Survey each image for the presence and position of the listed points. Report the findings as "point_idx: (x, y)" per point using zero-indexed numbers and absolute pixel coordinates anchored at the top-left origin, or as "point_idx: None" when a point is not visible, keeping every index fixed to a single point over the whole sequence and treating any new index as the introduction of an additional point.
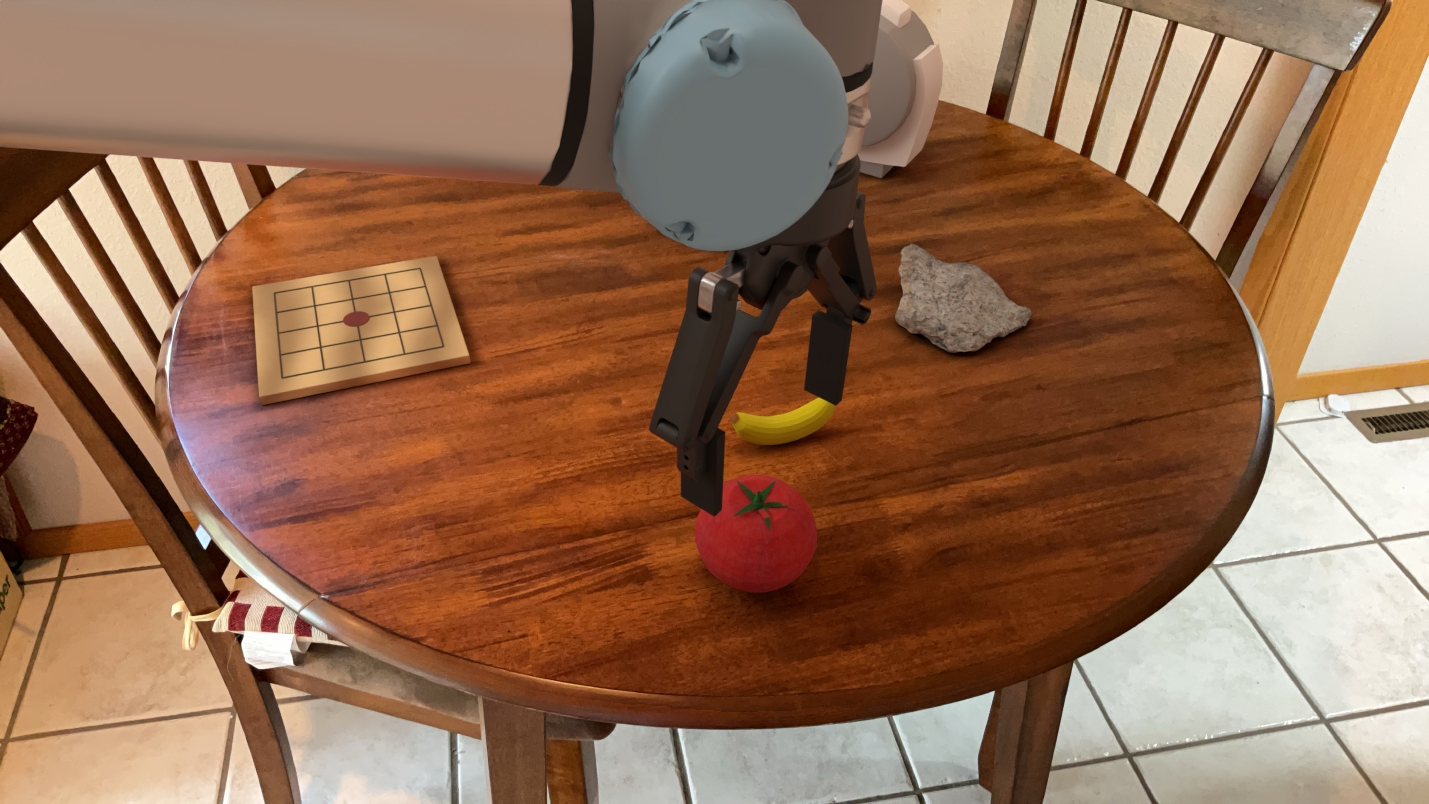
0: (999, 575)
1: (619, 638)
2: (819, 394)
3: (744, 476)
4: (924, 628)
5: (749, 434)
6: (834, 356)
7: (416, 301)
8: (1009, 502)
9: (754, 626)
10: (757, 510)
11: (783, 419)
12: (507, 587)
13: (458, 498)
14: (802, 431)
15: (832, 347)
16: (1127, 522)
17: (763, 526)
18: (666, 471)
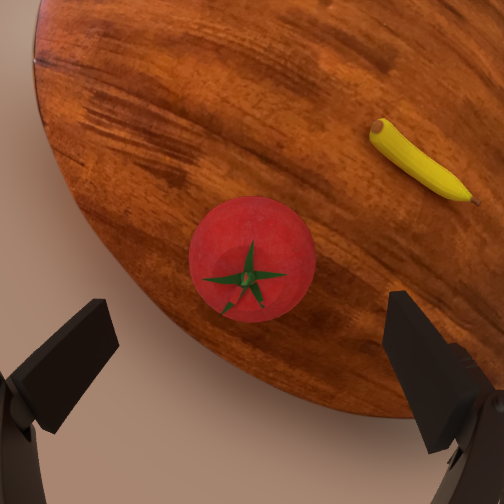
0: (371, 374)
1: (125, 215)
2: (387, 321)
3: (272, 235)
4: (297, 367)
5: (376, 147)
6: (412, 392)
7: None
8: None
9: None
10: (236, 285)
11: (418, 163)
12: (97, 117)
13: (132, 16)
14: (421, 182)
15: (420, 399)
16: None
17: (223, 303)
18: (290, 98)
